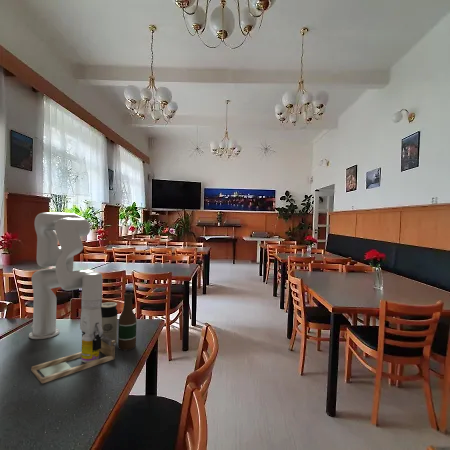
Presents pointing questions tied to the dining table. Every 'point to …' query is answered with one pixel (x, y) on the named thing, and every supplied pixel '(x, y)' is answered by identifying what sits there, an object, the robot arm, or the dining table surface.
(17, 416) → the dining table surface
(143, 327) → the dining table surface
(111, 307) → the travel mug
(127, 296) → the beer bottle
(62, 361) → the frame
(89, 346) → the supplement bottle
